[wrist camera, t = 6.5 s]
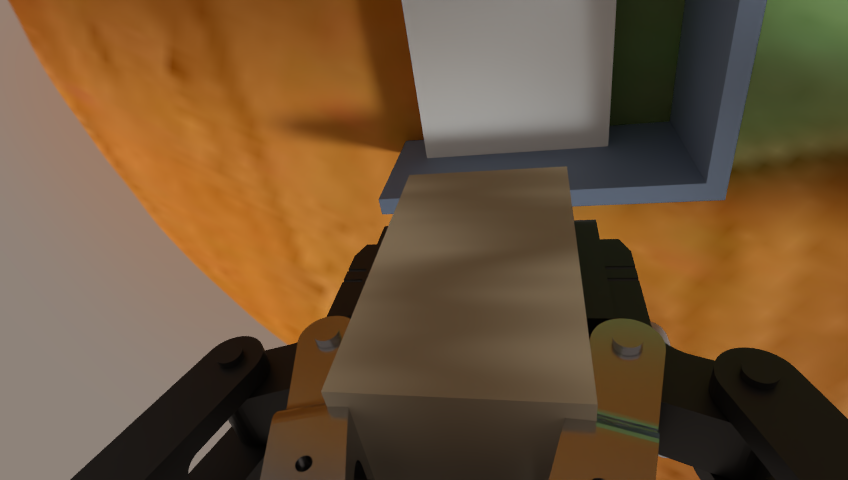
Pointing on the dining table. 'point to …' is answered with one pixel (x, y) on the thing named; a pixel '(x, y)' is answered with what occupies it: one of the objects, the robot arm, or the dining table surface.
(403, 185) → the slot box
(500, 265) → the maple block
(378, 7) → the dining table surface
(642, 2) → the dining table surface
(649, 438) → the robot arm
